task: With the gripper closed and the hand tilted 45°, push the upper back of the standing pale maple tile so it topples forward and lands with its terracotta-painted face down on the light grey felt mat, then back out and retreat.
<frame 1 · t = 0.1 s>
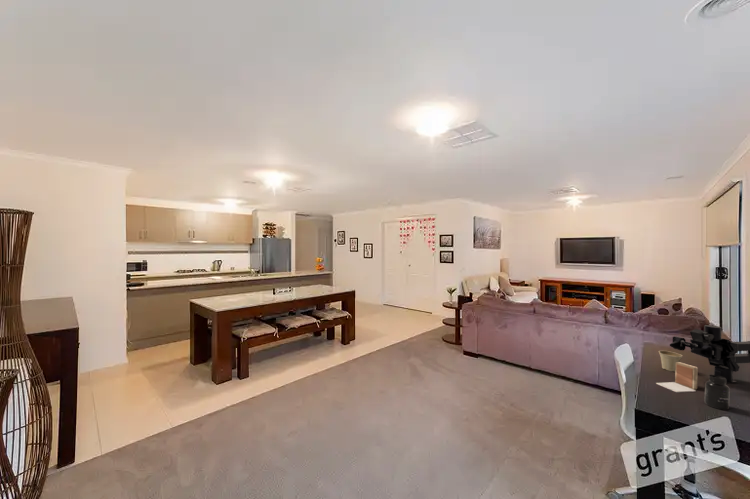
hand: (680, 348, 151), 17 cm above the table, tool horizontal, fingers open, 9 cm apart
maple tile: (685, 386, 147), on the table
felt mat: (675, 387, 145), on the table
supplement bottle: (716, 406, 128), on the table
flower pot: (670, 370, 168), on the table
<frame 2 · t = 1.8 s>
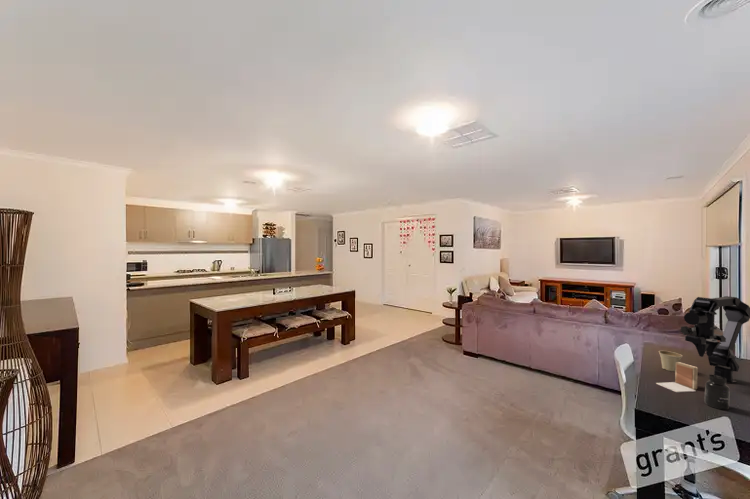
hand: (704, 356, 151), 13 cm above the table, tool pointing down, fingers open, 5 cm apart
nothing on the table moved.
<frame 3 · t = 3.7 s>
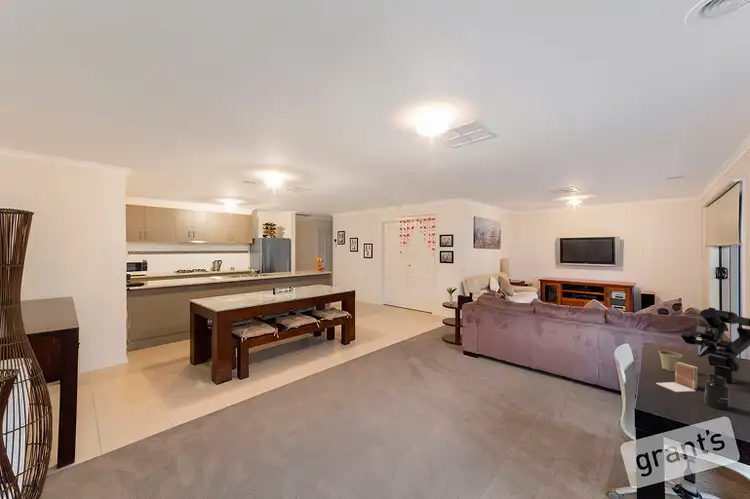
hand: (699, 356, 149), 13 cm above the table, tool tilted 45°, fingers closed
nothing on the table moved.
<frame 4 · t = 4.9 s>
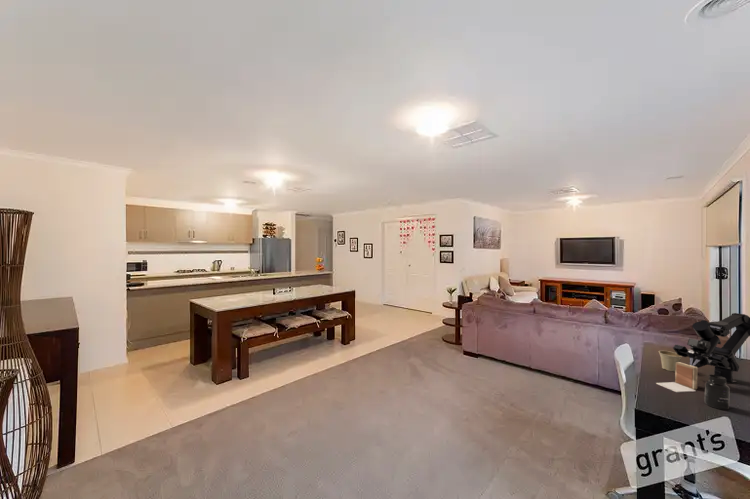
hand: (690, 369, 148), 8 cm above the table, tool tilted 45°, fingers closed
nothing on the table moved.
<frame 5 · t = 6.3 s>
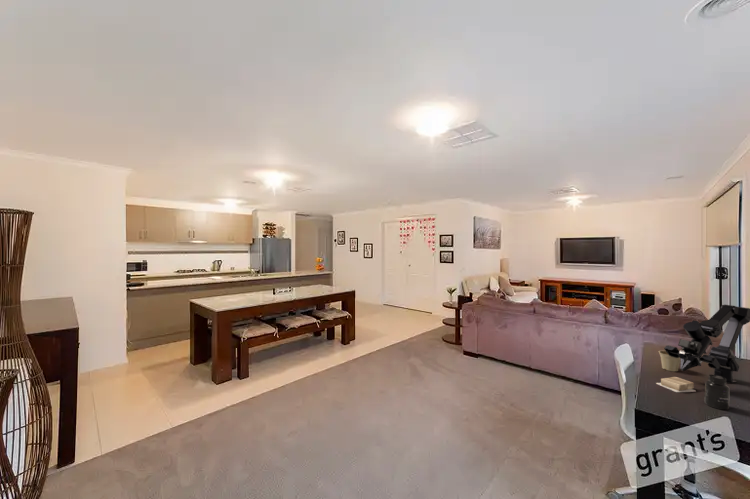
hand: (681, 370, 146), 8 cm above the table, tool tilted 45°, fingers closed
maple tile: (684, 382, 146), point 2 cm above the table, tilted 90°, touching felt mat
everything else where it was.
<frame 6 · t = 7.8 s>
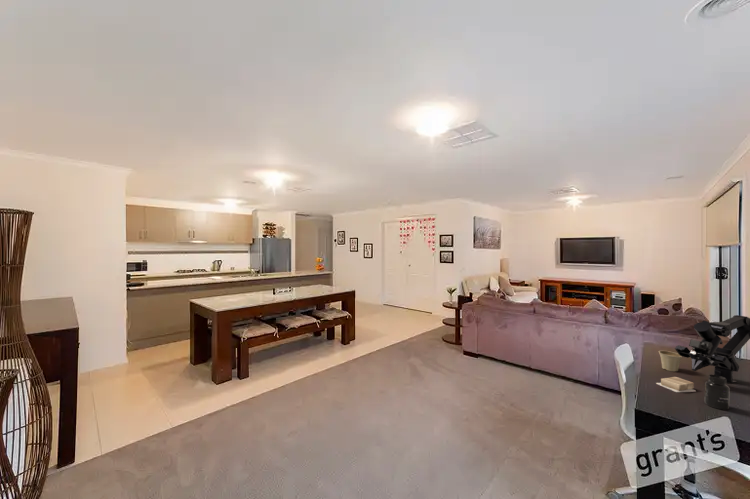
hand: (693, 370, 148), 7 cm above the table, tool tilted 45°, fingers closed
nothing on the table moved.
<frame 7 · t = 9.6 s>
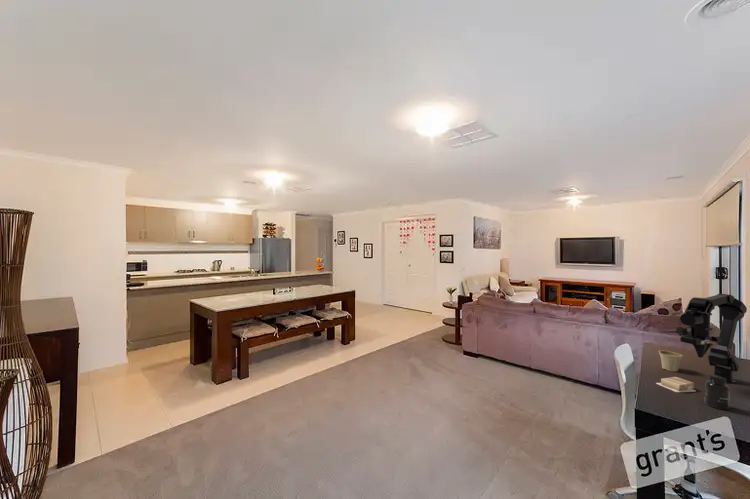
hand: (700, 357, 149), 13 cm above the table, tool pointing down, fingers closed
nothing on the table moved.
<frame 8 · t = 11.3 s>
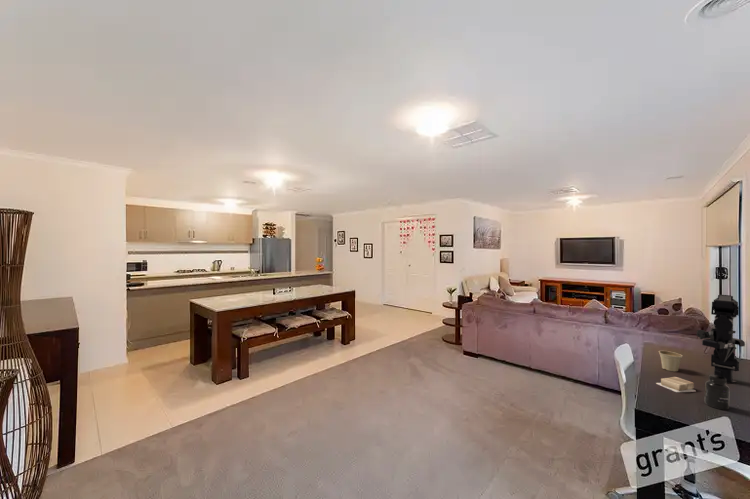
hand: (722, 361, 144), 13 cm above the table, tool pointing down, fingers closed
nothing on the table moved.
at the end: maple tile tilted 90°; maple tile inside the target area (5.9 cm from its centre), point 1.8 cm above the table; the gripper is holding nothing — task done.
